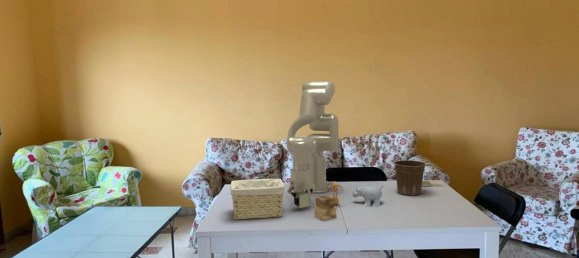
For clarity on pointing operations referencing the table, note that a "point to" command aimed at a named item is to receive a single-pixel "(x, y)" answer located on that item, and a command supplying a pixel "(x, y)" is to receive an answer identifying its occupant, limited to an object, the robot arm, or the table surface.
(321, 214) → the oak block
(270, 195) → the storage basket
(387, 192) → the table surface
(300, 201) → the sage block
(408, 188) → the plant pot
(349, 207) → the table surface
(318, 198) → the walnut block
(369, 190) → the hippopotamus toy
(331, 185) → the figurine
